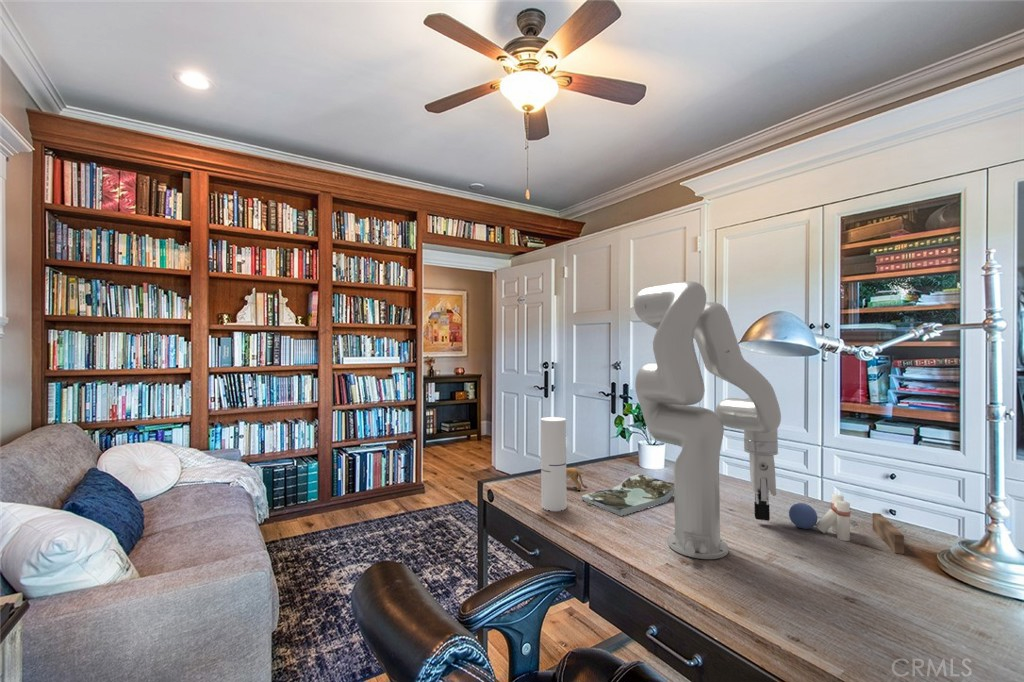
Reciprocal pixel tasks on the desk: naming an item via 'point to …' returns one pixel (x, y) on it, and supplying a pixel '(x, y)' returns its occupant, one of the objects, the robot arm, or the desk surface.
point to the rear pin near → (843, 520)
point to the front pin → (828, 519)
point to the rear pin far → (834, 500)
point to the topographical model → (632, 495)
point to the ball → (803, 515)
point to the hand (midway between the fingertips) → (762, 518)
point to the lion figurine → (574, 477)
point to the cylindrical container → (553, 463)
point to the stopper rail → (888, 533)
